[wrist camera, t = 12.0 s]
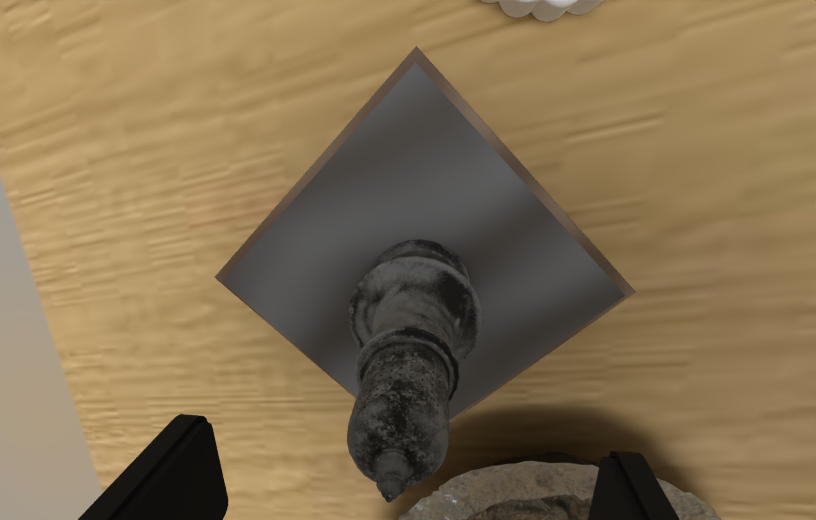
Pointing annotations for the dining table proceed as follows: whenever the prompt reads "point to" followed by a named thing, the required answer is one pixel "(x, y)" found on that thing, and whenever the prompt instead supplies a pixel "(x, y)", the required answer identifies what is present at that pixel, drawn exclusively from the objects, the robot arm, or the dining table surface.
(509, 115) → the dining table surface
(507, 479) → the stone bowl
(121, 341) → the dining table surface
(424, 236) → the walnut base
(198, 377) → the dining table surface
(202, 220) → the dining table surface
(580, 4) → the mooncake
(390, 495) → the black chess piece
